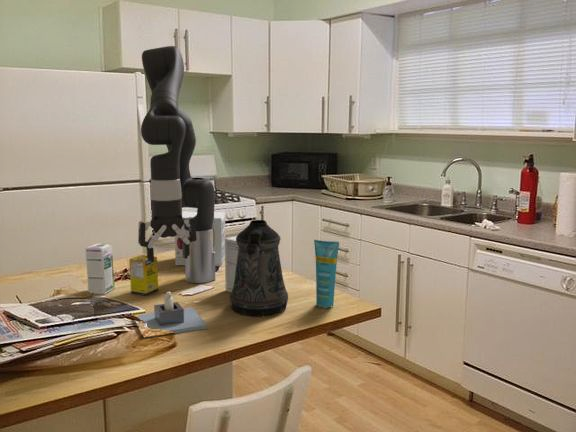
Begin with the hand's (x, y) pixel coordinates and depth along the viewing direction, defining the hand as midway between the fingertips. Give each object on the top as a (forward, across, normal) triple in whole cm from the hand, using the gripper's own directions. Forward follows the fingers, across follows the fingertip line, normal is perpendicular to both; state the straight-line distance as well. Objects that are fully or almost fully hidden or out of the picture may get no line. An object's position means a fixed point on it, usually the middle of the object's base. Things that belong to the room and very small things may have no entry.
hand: (168, 259), depth 138 cm
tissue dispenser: (+16, 0, 0) cm, 16 cm away
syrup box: (+18, +13, -35) cm, 41 cm away
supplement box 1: (+18, +1, -29) cm, 34 cm away
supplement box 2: (+18, -25, -57) cm, 65 cm away
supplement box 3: (+18, -28, -18) cm, 37 cm away
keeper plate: (+17, 0, 0) cm, 17 cm away
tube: (+18, -44, +4) cm, 47 cm away
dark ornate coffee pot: (+18, -26, -1) cm, 31 cm away
